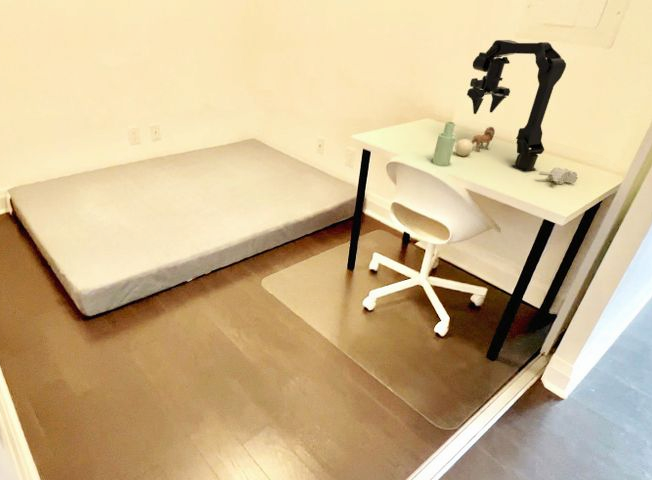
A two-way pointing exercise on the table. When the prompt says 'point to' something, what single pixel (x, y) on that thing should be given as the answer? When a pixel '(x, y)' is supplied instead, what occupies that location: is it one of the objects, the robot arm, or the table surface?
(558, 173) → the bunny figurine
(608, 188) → the table surface
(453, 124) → the bottle
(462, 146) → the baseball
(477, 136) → the lion figurine
